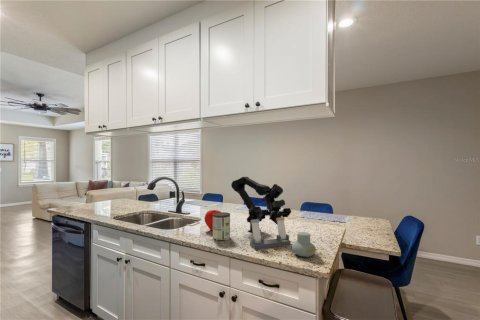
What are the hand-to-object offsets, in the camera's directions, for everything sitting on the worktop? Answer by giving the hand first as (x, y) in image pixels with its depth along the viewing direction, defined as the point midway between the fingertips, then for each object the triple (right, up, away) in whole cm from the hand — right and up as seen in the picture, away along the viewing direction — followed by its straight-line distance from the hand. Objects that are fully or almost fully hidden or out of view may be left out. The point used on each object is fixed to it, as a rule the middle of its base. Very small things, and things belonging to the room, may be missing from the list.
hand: (280, 226), depth 131 cm
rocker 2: (+1, -5, -3) cm, 6 cm away
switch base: (-6, -9, -5) cm, 12 cm away
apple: (-40, -9, +24) cm, 47 cm away
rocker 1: (-13, -5, -8) cm, 16 cm away
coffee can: (-33, -9, +7) cm, 35 cm away
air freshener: (+8, -8, -19) cm, 22 cm away
